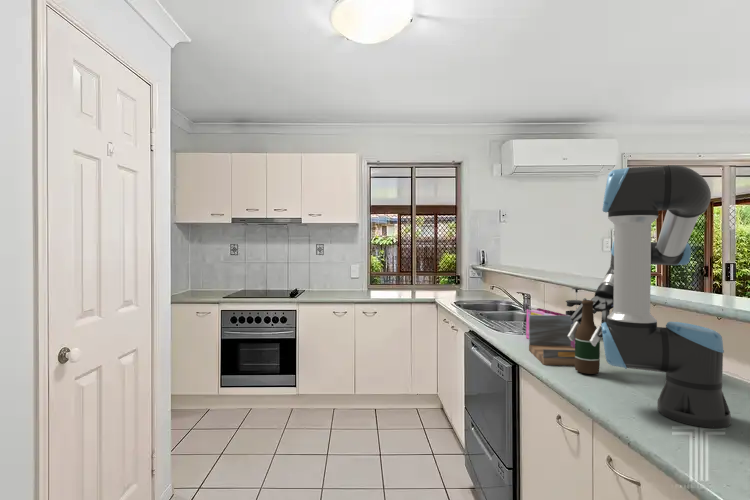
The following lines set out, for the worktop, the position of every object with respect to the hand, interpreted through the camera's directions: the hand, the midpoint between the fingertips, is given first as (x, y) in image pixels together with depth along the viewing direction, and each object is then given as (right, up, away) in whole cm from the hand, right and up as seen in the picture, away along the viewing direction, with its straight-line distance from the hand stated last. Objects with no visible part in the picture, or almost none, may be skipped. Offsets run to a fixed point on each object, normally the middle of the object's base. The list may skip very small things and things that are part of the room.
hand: (581, 340), depth 143 cm
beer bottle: (+3, -11, +2) cm, 11 cm away
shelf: (+1, -11, +20) cm, 23 cm away
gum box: (+7, -10, +42) cm, 44 cm away
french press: (+23, -10, +52) cm, 58 cm away
